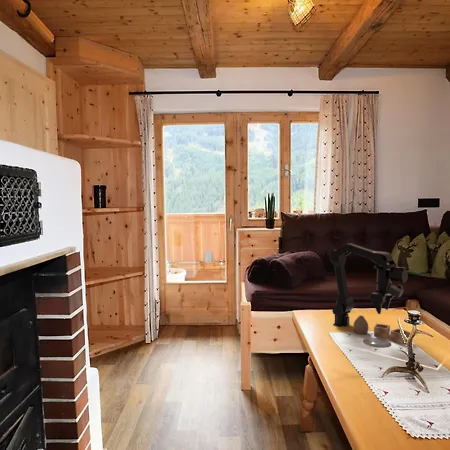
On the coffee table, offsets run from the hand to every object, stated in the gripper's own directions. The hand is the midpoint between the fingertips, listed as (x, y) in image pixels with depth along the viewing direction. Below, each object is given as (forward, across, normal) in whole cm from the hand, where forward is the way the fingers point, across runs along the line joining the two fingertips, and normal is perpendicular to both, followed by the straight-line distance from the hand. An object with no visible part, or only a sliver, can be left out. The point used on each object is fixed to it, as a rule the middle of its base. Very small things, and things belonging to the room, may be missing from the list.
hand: (382, 311), depth 181 cm
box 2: (+12, -2, -9) cm, 15 cm away
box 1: (+12, 0, 0) cm, 12 cm away
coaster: (+12, -11, -2) cm, 16 cm away
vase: (+12, -3, +9) cm, 16 cm away
